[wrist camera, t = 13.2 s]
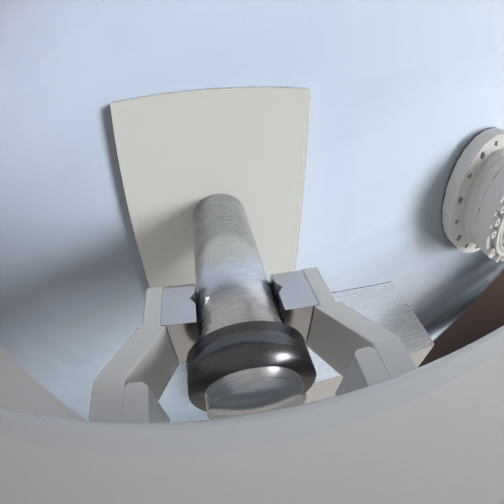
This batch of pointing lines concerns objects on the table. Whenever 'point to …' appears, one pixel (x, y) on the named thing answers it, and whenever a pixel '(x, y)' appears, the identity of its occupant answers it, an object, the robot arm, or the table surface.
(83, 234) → the table surface
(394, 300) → the block
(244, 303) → the grey capped cylinder
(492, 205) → the mechanical component
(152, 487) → the robot arm
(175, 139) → the mat
